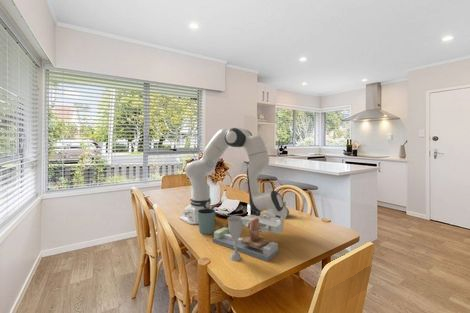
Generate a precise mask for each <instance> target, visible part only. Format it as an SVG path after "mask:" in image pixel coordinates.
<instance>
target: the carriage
mask: <svg viewBox="0 0 470 313" xmlns="http://www.w3.org/2000/svg"><path fill="white" fill-rule="evenodd" d="M249 229H250V230H249V232H250V234H248V235H247V236H245V237H243V239H242V240H241V243H242V244H245V245H248V246H251V247H254V248H257V249H260V248H261V247H263V246H264V245H268V244H269V240H268V239H266V238H265V237H261V236H259V235H260V232H259V231H260V230H259V219H258V218H251V219H250V228H249Z"/></svg>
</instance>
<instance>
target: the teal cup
mask: <svg viewBox="0 0 470 313" xmlns="http://www.w3.org/2000/svg"><path fill="white" fill-rule="evenodd" d="M197 213H198V221H199V224H198V232H199V233H200V234H202V235H211V234H214V232H215V231H216V230H215V228H216V225H215V223H216V220H215V219H216V209H214V208H205V209H200V210H198V211H197Z"/></svg>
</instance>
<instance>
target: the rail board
mask: <svg viewBox="0 0 470 313" xmlns="http://www.w3.org/2000/svg"><path fill="white" fill-rule="evenodd" d="M243 238H244V237H242V236H240V237H239V239H237V247H238V248H237V252H239V253H243V254H245V255H248V256H251V257H254V258H256V259H259V260H261V261H264V262H267V263H268V262H270V261H271V260H272V259H273V258H274V257H276V255H278V254H279V248H278V242H275V241H270V242H268V243H267V244H266V245H264V246H263V247H261V248H260V249H257V248H254V247H251V246H248V245H245V244H242V243H241V240H242V239H243ZM212 243H214V244H218V245H220V246H223V247H225V248H228V249H231V250H234V239H233V238H232V237H231V235H230V232H229V229H228V227H225V226H223V227H222V228H219V229H217V230H214V232H213V237H212Z"/></svg>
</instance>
